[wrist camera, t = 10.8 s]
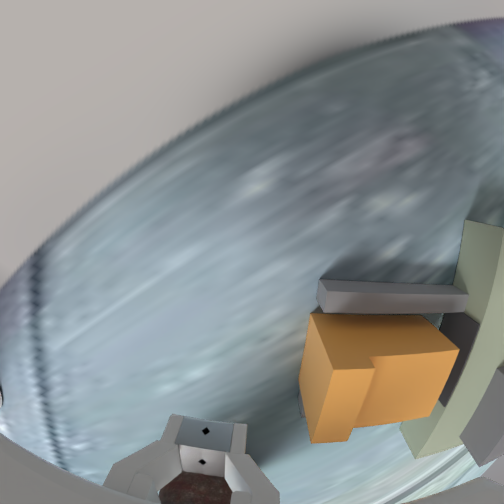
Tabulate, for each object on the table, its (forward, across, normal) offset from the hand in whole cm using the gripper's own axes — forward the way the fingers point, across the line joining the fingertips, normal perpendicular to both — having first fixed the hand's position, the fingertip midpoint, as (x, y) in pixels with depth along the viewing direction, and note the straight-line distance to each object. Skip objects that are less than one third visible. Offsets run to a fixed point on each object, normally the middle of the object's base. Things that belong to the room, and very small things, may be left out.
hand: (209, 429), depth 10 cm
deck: (+8, -15, 0) cm, 17 cm away
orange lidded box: (+8, -9, 0) cm, 12 cm away
